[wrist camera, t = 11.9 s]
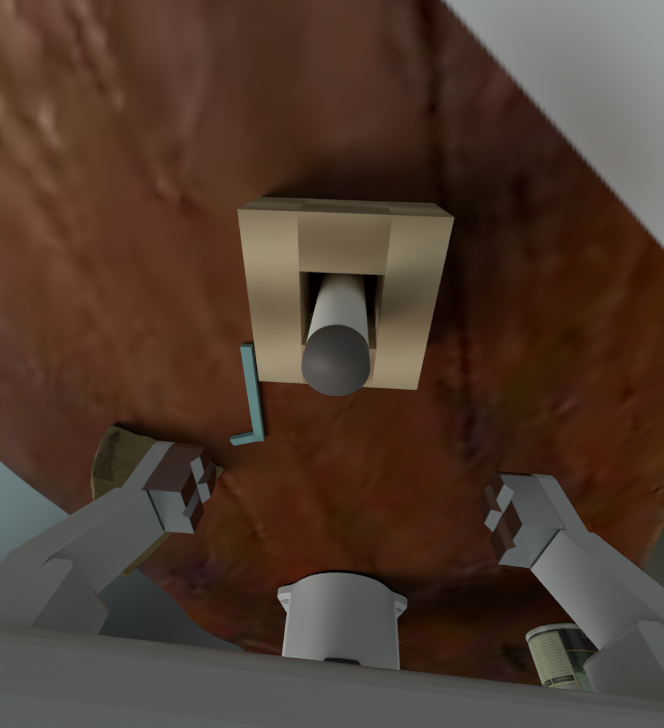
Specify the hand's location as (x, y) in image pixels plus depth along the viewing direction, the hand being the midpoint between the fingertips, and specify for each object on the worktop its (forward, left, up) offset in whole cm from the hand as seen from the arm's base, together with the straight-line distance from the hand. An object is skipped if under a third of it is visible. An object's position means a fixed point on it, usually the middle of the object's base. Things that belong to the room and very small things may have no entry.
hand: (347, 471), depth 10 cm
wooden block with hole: (0, +1, -15) cm, 15 cm away
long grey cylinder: (0, +1, -15) cm, 15 cm away
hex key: (-10, +9, -15) cm, 20 cm away
